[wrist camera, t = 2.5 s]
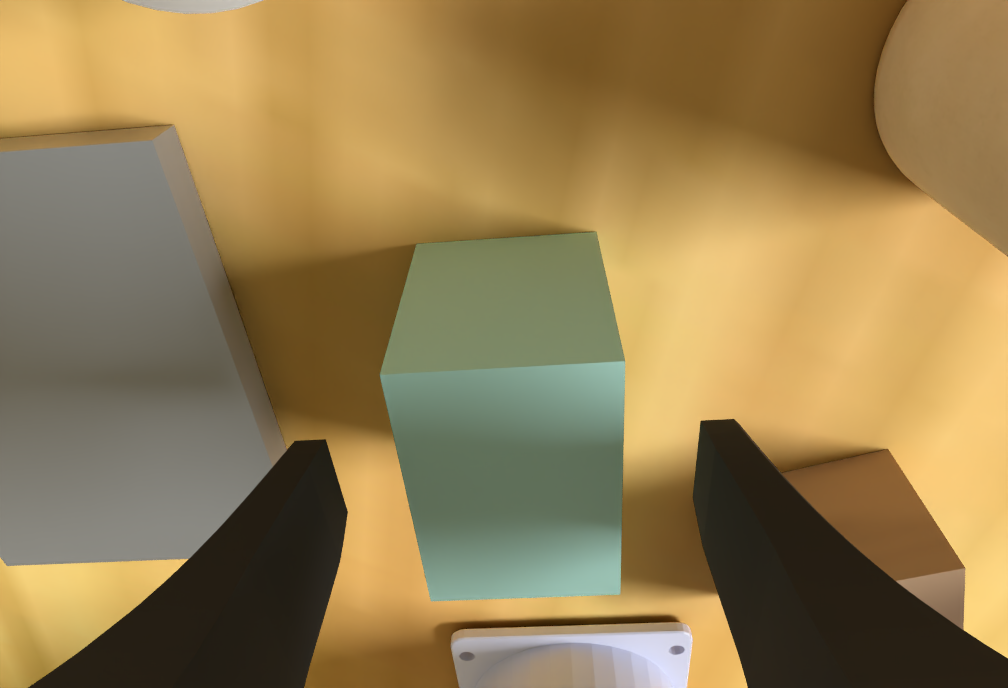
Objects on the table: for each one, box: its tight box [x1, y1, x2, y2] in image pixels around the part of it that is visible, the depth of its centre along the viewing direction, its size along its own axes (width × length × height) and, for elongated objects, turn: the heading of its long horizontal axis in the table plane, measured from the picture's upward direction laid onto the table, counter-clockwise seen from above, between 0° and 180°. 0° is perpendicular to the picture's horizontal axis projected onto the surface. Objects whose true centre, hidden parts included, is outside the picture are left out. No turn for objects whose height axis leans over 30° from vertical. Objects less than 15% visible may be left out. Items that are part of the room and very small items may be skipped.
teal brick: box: [380, 232, 625, 601], centre depth 15 cm, size 6×4×5 cm, turn 5°
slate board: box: [0, 125, 287, 566], centre depth 17 cm, size 12×9×1 cm
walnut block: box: [782, 449, 965, 630], centre depth 19 cm, size 5×5×4 cm
